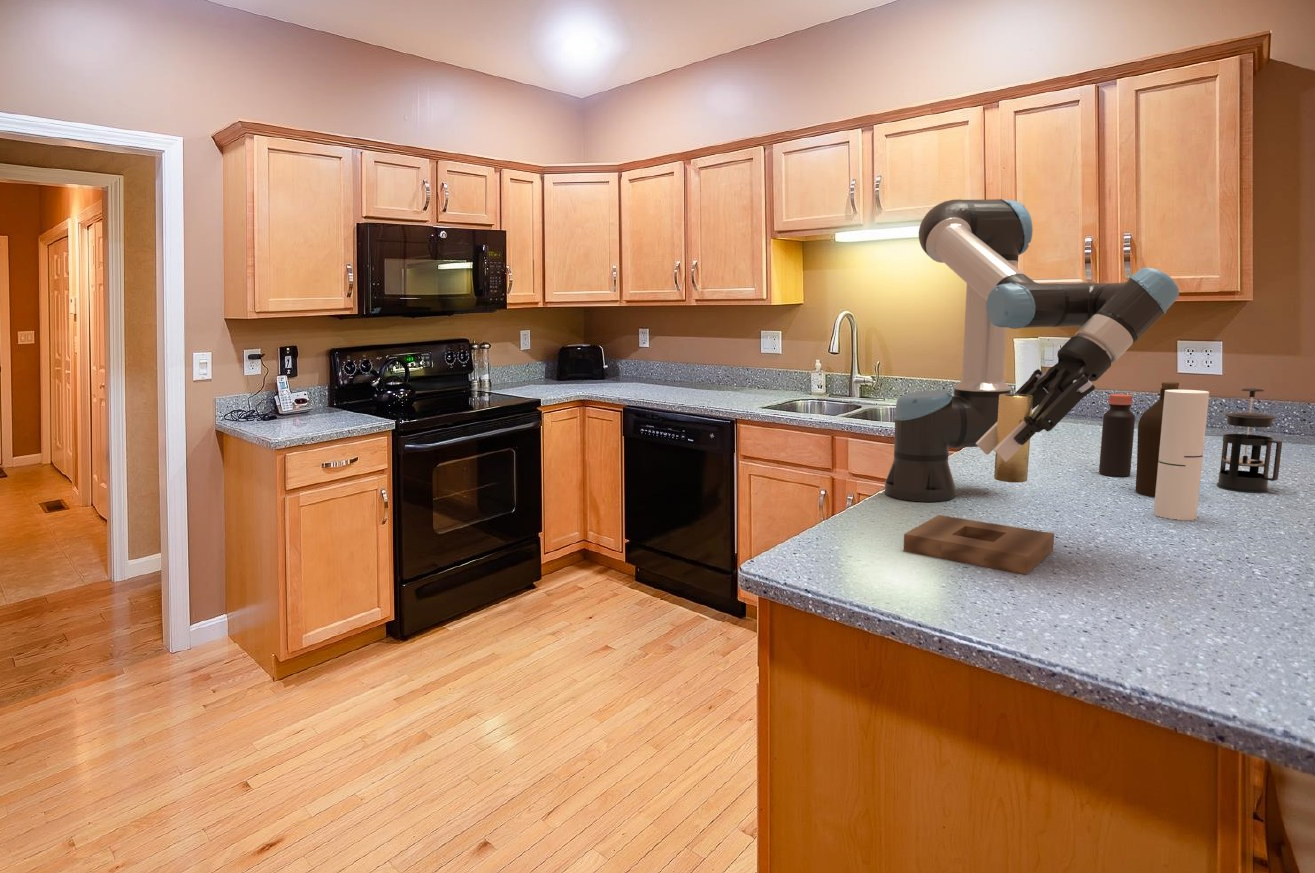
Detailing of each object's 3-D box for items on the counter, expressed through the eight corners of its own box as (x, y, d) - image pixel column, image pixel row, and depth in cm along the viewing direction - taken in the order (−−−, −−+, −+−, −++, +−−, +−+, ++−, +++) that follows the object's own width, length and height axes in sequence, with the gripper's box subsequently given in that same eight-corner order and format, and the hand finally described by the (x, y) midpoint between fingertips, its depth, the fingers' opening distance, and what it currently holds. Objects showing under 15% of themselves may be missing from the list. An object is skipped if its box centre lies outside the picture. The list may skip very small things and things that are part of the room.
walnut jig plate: (903, 550, 132) (904, 533, 131) (937, 530, 144) (938, 514, 143) (1026, 574, 119) (1027, 556, 118) (1053, 550, 131) (1054, 533, 130)
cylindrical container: (1203, 521, 147) (1216, 393, 144) (1163, 519, 149) (1174, 393, 145) (1186, 511, 154) (1198, 389, 150) (1147, 510, 156) (1158, 389, 152)
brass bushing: (990, 479, 125) (995, 395, 123) (999, 474, 129) (1004, 392, 127) (1022, 483, 122) (1028, 397, 120) (1030, 478, 126) (1036, 394, 124)
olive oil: (1160, 500, 164) (1171, 385, 160) (1120, 489, 174) (1130, 381, 170) (1201, 497, 166) (1212, 383, 162) (1159, 487, 176) (1169, 379, 172)
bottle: (1119, 478, 186) (1126, 397, 183) (1092, 473, 192) (1099, 395, 188) (1136, 475, 189) (1143, 395, 186) (1109, 470, 195) (1115, 393, 192)
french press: (1204, 485, 177) (1214, 387, 173) (1227, 481, 181) (1237, 385, 177) (1263, 496, 166) (1275, 392, 163) (1285, 491, 170) (1297, 389, 167)
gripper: (1146, 370, 115) (1036, 479, 117) (1072, 361, 133) (977, 456, 134) (1117, 336, 114) (1005, 447, 115) (1045, 331, 131) (949, 428, 133)
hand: (990, 452), depth 125 cm, fingers closed on brass bushing, 5 cm apart
